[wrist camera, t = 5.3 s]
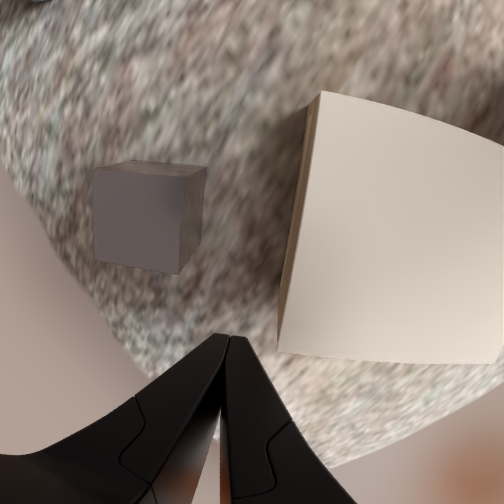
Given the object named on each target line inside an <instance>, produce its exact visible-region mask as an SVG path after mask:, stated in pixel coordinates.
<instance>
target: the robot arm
mask: <svg viewBox="0 0 504 504" xmlns="http://www.w3.org/2000/svg"><path fill="white" fill-rule="evenodd" d="M220 410H221V413H220ZM219 415H220V504H357V503H356V502H355V501H354V499H352V497H351V496H350V495H349V494H348V493H347V492H346V490H345V489H344V488H343V487H342V486H341V485H340V484H339V483H338V481H337V480H336V479H335V478H334V477H333V475H332V474H331V473H330V472H329V471H328V469H327V468H326V467H325V466H324V465H323V463H322V462H321V461H320V460H319V458H318V457H317V456H316V454H315V453H314V452H313V451H312V449H311V448H310V446H309V445H308V443H307V442H306V440H305V439H304V437H303V436H302V434H301V432H300V431H299V429H298V427H297V426H296V424H295V422H294V421H292V420H293V419H292V417H291V416H290V414H289V412H288V410H287V409H286V407H285V405H284V403H283V402H282V400H281V398H280V396H279V395H278V393H277V391H276V389H275V388H274V386H273V384H272V382H271V380H270V379H269V377H268V375H267V373H266V371H265V370H264V368H263V366H262V364H261V362H260V361H259V359H258V357H257V355H256V353H255V352H254V350H253V348H252V346H251V344H250V342H249V340H248V339H247V338H246V337H242V336H234V335H233V336H231V337H230V336H229V335H227V334H220V333H214V334H212V335H211V336H210V337H209V338H207V339H206V340H205V341H204V342H202V343H201V344H200V345H199V346H197V347H196V348H195V349H194V350H192V351H191V352H190V353H189V354H187V355H186V356H185V357H183V358H182V359H181V360H180V361H178V362H177V363H176V364H174V365H173V366H172V367H171V368H169V369H168V370H167V371H165V372H164V373H163V374H162V375H160V376H159V377H158V378H156V379H155V380H154V381H152V382H151V383H150V384H149V385H147V386H146V387H145V388H143V389H142V390H141V391H139V392H138V393H137V394H135V396H134V397H131V398H130V399H129V400H127V401H126V402H124V403H123V404H122V405H120V406H119V407H118V408H116V409H115V410H113V411H112V412H110V413H109V414H107V415H106V416H104V417H102V418H101V419H99V420H97V421H96V422H94V423H92V424H90V425H89V426H87V427H85V428H83V429H81V430H80V431H78V432H76V433H74V434H72V435H70V436H68V437H66V438H65V439H63V440H61V441H59V442H57V443H55V444H53V445H51V446H49V447H47V448H45V449H43V450H40V451H37V452H34V453H31V454H26V455H5V454H0V504H191V503H192V500H193V497H194V494H195V491H196V488H197V484H198V482H199V478H200V476H201V472H202V469H203V466H204V463H205V460H206V457H207V454H208V450H209V447H210V444H211V441H212V438H213V435H214V432H215V429H216V425H217V422H218V419H219Z"/></svg>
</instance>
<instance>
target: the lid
mask: <svg viewBox="0 0 504 504" xmlns="http://www.w3.org/2000/svg"><path fill="white" fill-rule="evenodd" d="M503 345H504V146H502V145H500V144H498V143H495V142H493V141H491V140H488V139H486V138H484V137H481V136H479V135H476V134H474V133H471V132H469V131H466V130H463V129H461V128H458V127H455V126H452V125H450V124H447V123H444V122H441V121H438V120H435V119H432V118H429V117H426V116H423V115H420V114H416V113H413V112H410V111H406V110H403V109H399V108H396V107H392V106H389V105H385V104H381V103H377V102H373V101H369V100H365V99H361V98H356V97H352V96H347V95H342V94H338V93H333V92H327V91H321V92H320V96H319V104H318V111H317V119H316V126H315V133H314V140H313V147H312V153H311V160H310V166H309V173H308V179H307V186H306V192H305V198H304V204H303V210H302V216H301V222H300V228H299V233H298V239H297V245H296V250H295V256H294V261H293V267H292V272H291V277H290V283H289V288H288V293H287V298H286V303H285V308H284V313H283V318H282V323H281V328H280V333H279V338H278V343H277V352H283V353H291V354H299V355H308V356H317V357H327V358H338V359H350V360H362V361H377V362H395V363H421V364H491V363H495V361H496V359H497V357H498V355H499V353H500V351H501V349H502V347H503Z"/></svg>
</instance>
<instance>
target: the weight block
mask: <svg viewBox="0 0 504 504" xmlns="http://www.w3.org/2000/svg"><path fill="white" fill-rule="evenodd" d="M206 170H207V167H204V166H194V165H184V164H173V163H161V162H148V161H134V160H132V161H128V162H123V163H119V164H115V165H110V166H106V167H102V168H98V169H94V170H93V240H94V259H95V260H96V261H102V262H107V263H112V264H118V265H123V266H129V267H134V268H140V269H145V270H151V271H157V272H163V273H168V274H174V275H179V273H180V272H181V270H182V269H183V267H184V266H185V265H186V263H187V262H188V260H189V259H190V257H191V256H192V255H193V253H194V252H195V250H196V249H197V248H198V246H199V245H200V238H201V225H202V213H203V202H204V191H205V180H206Z"/></svg>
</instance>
